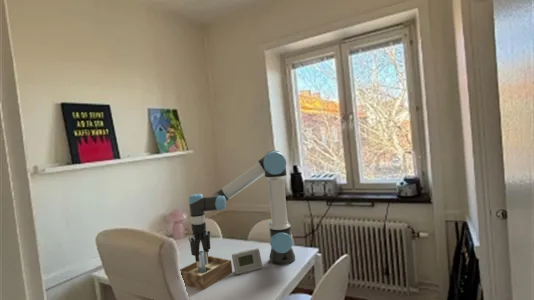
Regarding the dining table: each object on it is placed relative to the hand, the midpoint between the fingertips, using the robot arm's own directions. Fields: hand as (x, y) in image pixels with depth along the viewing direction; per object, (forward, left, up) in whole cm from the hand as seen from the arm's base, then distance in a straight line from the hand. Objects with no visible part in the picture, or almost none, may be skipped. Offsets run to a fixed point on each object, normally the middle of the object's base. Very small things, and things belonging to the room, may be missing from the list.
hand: (202, 265), depth 175 cm
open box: (-2, 0, -7) cm, 7 cm away
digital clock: (-17, -17, -7) cm, 25 cm away
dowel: (+1, 0, -7) cm, 7 cm away
